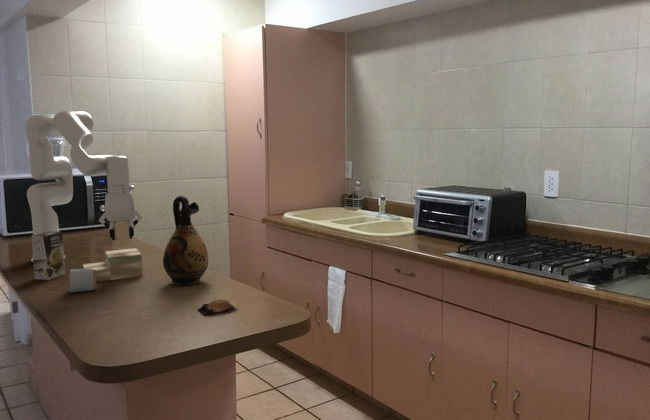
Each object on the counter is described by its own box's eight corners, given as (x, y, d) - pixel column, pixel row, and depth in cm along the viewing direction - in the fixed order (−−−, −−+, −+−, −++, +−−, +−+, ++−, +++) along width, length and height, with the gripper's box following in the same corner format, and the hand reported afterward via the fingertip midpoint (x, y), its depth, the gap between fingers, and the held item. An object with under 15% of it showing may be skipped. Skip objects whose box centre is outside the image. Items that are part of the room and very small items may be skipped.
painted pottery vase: (218, 281, 199) (215, 196, 195) (180, 291, 188) (175, 201, 184) (190, 273, 211) (186, 192, 206) (153, 282, 200) (148, 197, 195)
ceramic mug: (97, 292, 188) (95, 269, 187) (70, 295, 185) (68, 272, 184) (96, 284, 198) (95, 263, 197) (71, 287, 195) (69, 265, 194)
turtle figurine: (228, 305, 175) (227, 293, 174) (240, 312, 168) (239, 300, 167) (195, 311, 169) (194, 299, 168) (206, 319, 162) (205, 306, 161)
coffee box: (49, 280, 204) (46, 235, 201) (34, 279, 205) (30, 235, 202) (66, 273, 212) (62, 231, 210) (51, 273, 214) (47, 230, 211)
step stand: (83, 274, 211) (82, 253, 210) (137, 268, 219) (135, 248, 218) (86, 283, 199) (84, 260, 198) (142, 276, 207) (141, 254, 206)
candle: (116, 244, 212) (115, 217, 210) (132, 243, 212) (130, 217, 211) (112, 247, 206) (110, 219, 205) (128, 246, 207) (126, 219, 205)
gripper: (141, 187, 214) (144, 235, 216) (92, 190, 206) (96, 239, 209) (145, 189, 207) (148, 238, 210) (94, 192, 199) (98, 243, 202)
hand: (122, 238), depth 209 cm, fingers closed on candle, 5 cm apart
